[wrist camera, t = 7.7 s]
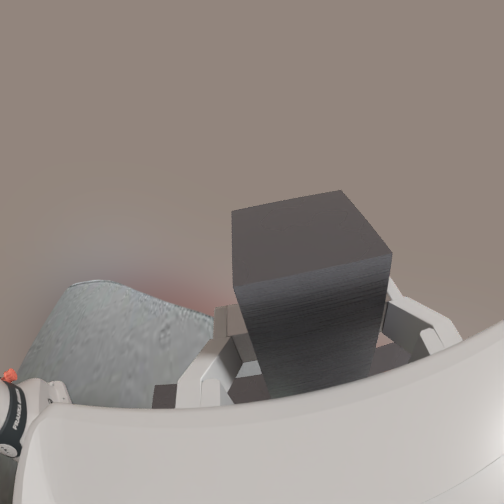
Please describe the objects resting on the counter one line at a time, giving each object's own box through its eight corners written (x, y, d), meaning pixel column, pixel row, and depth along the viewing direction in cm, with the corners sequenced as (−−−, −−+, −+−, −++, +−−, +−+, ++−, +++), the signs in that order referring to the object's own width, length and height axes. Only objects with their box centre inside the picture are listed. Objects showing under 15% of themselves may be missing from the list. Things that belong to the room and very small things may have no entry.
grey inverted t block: (170, 448, 14) (24, 319, 7) (174, 398, 18) (66, 253, 10) (453, 387, 13) (539, 213, 6) (431, 344, 17) (480, 171, 9)
